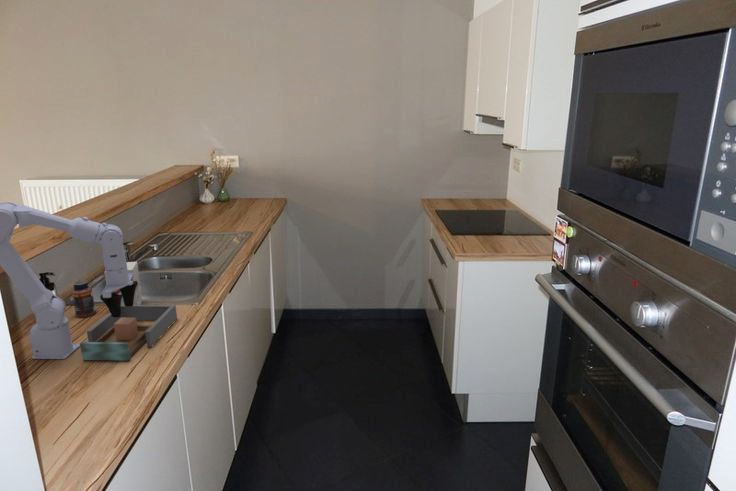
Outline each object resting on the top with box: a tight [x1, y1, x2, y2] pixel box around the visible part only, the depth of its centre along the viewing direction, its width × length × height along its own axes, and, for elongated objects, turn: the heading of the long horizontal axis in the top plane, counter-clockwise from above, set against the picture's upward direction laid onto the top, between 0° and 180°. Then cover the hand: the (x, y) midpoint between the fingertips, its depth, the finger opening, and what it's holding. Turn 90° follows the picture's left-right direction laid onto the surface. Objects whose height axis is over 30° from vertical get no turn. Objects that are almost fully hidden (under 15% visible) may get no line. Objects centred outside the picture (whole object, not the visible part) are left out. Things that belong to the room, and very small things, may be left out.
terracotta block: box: [114, 318, 138, 340], centre depth 155 cm, size 4×4×5 cm
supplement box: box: [103, 261, 143, 305], centre depth 177 cm, size 9×9×15 cm
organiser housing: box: [86, 304, 178, 347], centre depth 160 cm, size 18×19×5 cm
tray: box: [79, 324, 153, 362], centre depth 152 cm, size 13×17×5 cm
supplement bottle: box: [71, 280, 97, 318], centre depth 173 cm, size 6×6×11 cm
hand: (123, 311), depth 153 cm, fingers open, 7 cm apart
